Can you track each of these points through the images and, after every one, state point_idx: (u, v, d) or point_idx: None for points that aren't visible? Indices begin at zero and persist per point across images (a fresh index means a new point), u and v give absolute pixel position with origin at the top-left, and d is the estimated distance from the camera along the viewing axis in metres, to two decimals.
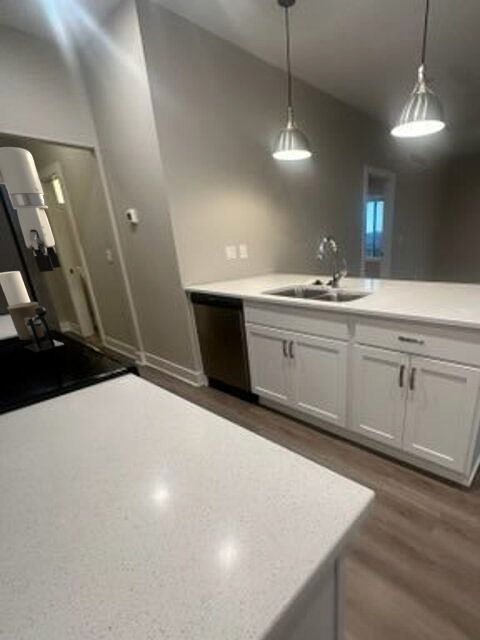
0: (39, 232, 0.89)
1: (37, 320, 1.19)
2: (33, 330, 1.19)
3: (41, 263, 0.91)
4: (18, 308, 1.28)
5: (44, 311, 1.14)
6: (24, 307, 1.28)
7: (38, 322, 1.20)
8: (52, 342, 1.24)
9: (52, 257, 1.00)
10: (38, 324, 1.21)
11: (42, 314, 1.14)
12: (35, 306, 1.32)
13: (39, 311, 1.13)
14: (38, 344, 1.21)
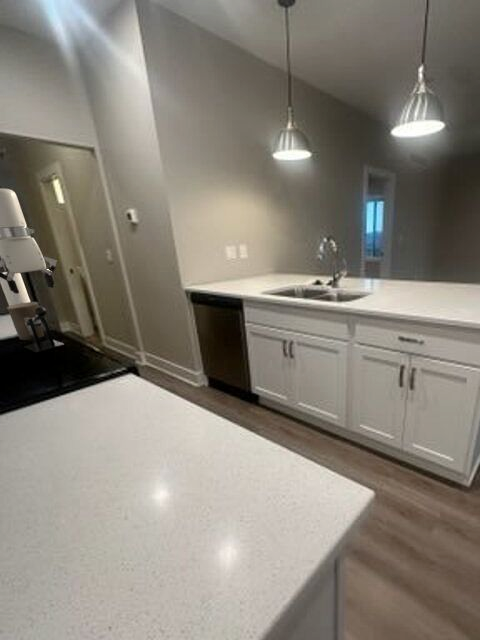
0: (4, 261, 1.03)
1: (37, 320, 1.19)
2: (33, 330, 1.19)
3: (9, 286, 1.06)
4: (18, 308, 1.28)
5: (44, 311, 1.14)
6: (24, 307, 1.28)
7: (38, 322, 1.20)
8: (52, 342, 1.24)
9: (47, 278, 1.13)
10: (38, 324, 1.21)
11: (42, 314, 1.14)
12: (35, 306, 1.32)
13: (39, 311, 1.13)
14: (38, 344, 1.21)
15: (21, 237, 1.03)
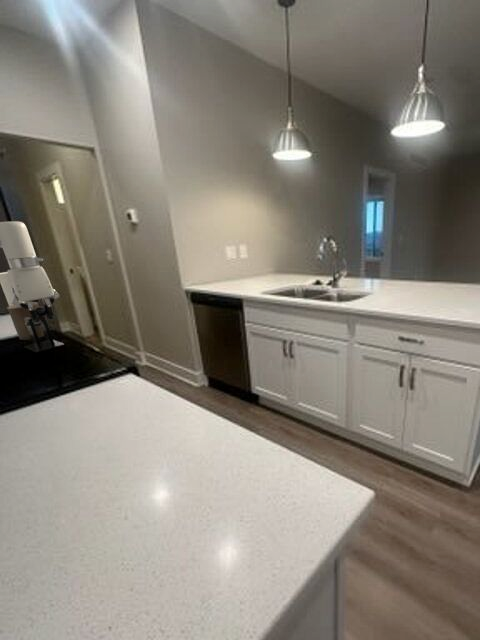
0: (14, 290, 1.07)
1: None
2: (33, 330, 1.19)
3: (30, 315, 1.12)
4: (18, 308, 1.28)
5: (44, 311, 1.14)
6: None
7: (38, 322, 1.20)
8: (52, 342, 1.24)
9: (46, 310, 1.15)
10: (38, 324, 1.21)
11: (42, 314, 1.14)
12: (35, 306, 1.32)
13: (39, 311, 1.13)
14: (38, 344, 1.21)
15: (31, 267, 1.07)
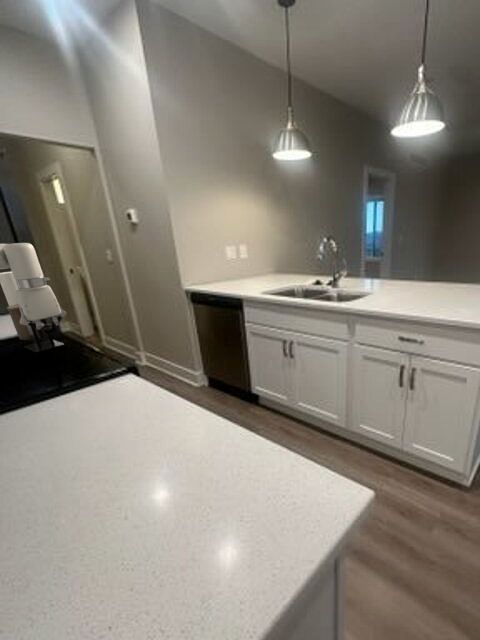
0: (23, 310, 1.08)
1: None
2: (33, 330, 1.19)
3: (38, 334, 1.14)
4: (18, 308, 1.28)
5: (52, 331, 1.16)
6: None
7: None
8: (52, 342, 1.24)
9: (54, 328, 1.17)
10: None
11: (49, 333, 1.16)
12: None
13: (47, 331, 1.15)
14: (38, 344, 1.21)
15: (38, 287, 1.08)
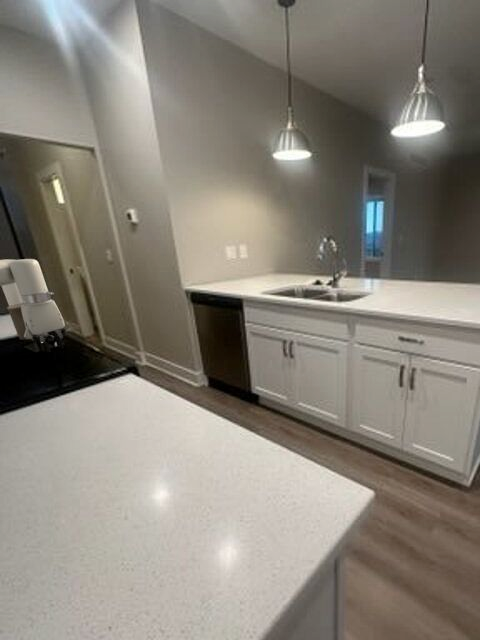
0: (27, 324, 1.11)
1: None
2: None
3: (42, 347, 1.17)
4: (18, 308, 1.28)
5: None
6: None
7: None
8: None
9: (57, 341, 1.19)
10: None
11: None
12: None
13: (50, 343, 1.18)
14: (38, 344, 1.21)
15: (43, 302, 1.11)
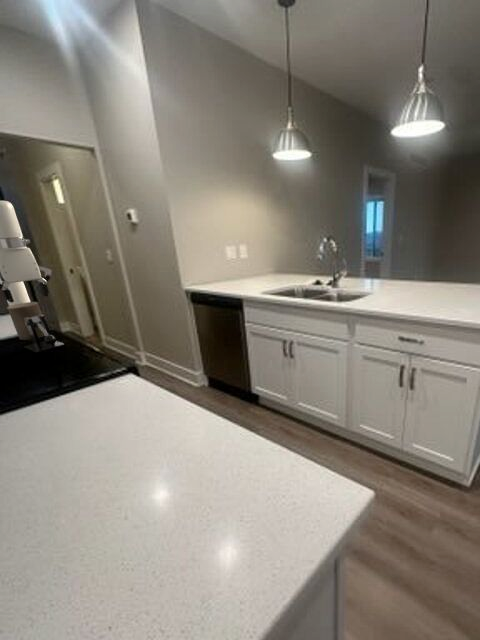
0: (0, 270, 1.05)
1: None
2: (33, 330, 1.19)
3: (4, 295, 1.08)
4: (18, 308, 1.28)
5: None
6: (24, 307, 1.28)
7: None
8: None
9: (42, 287, 1.15)
10: None
11: None
12: (35, 306, 1.32)
13: (50, 343, 1.17)
14: (38, 344, 1.21)
15: (17, 248, 1.05)
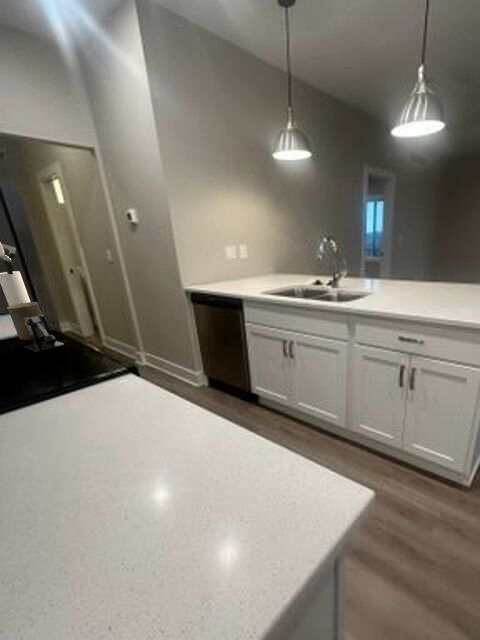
0: None
1: None
2: (33, 330, 1.19)
3: None
4: (18, 308, 1.28)
5: None
6: (24, 307, 1.28)
7: None
8: None
9: (6, 265, 1.16)
10: None
11: None
12: (35, 306, 1.32)
13: (50, 343, 1.17)
14: (38, 344, 1.21)
15: None
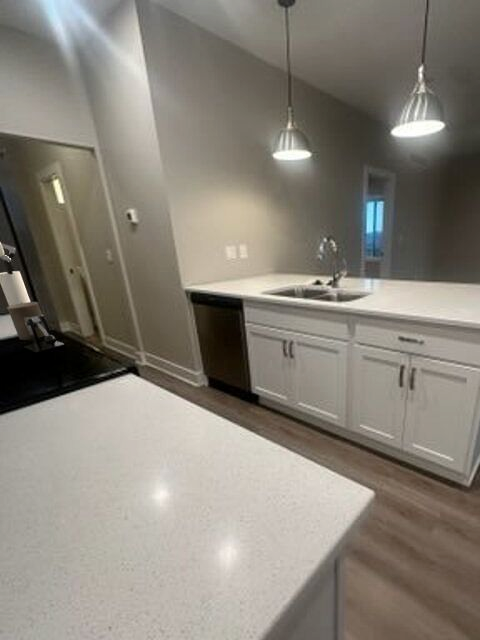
0: None
1: None
2: (33, 330, 1.19)
3: None
4: (18, 308, 1.28)
5: None
6: (24, 307, 1.28)
7: None
8: None
9: (6, 265, 1.16)
10: None
11: None
12: (35, 306, 1.32)
13: (50, 343, 1.17)
14: (38, 344, 1.21)
15: None
